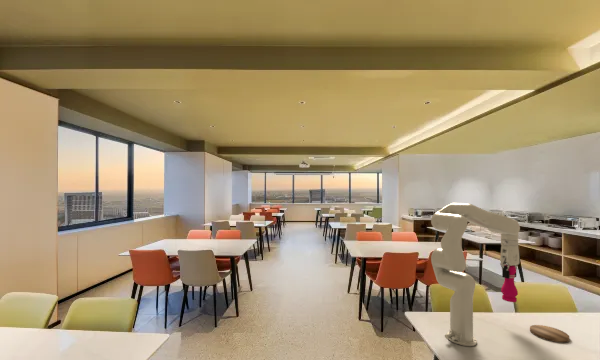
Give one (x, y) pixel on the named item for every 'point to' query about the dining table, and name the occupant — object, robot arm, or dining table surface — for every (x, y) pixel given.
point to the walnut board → (549, 333)
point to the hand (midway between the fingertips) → (509, 276)
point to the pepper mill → (510, 286)
